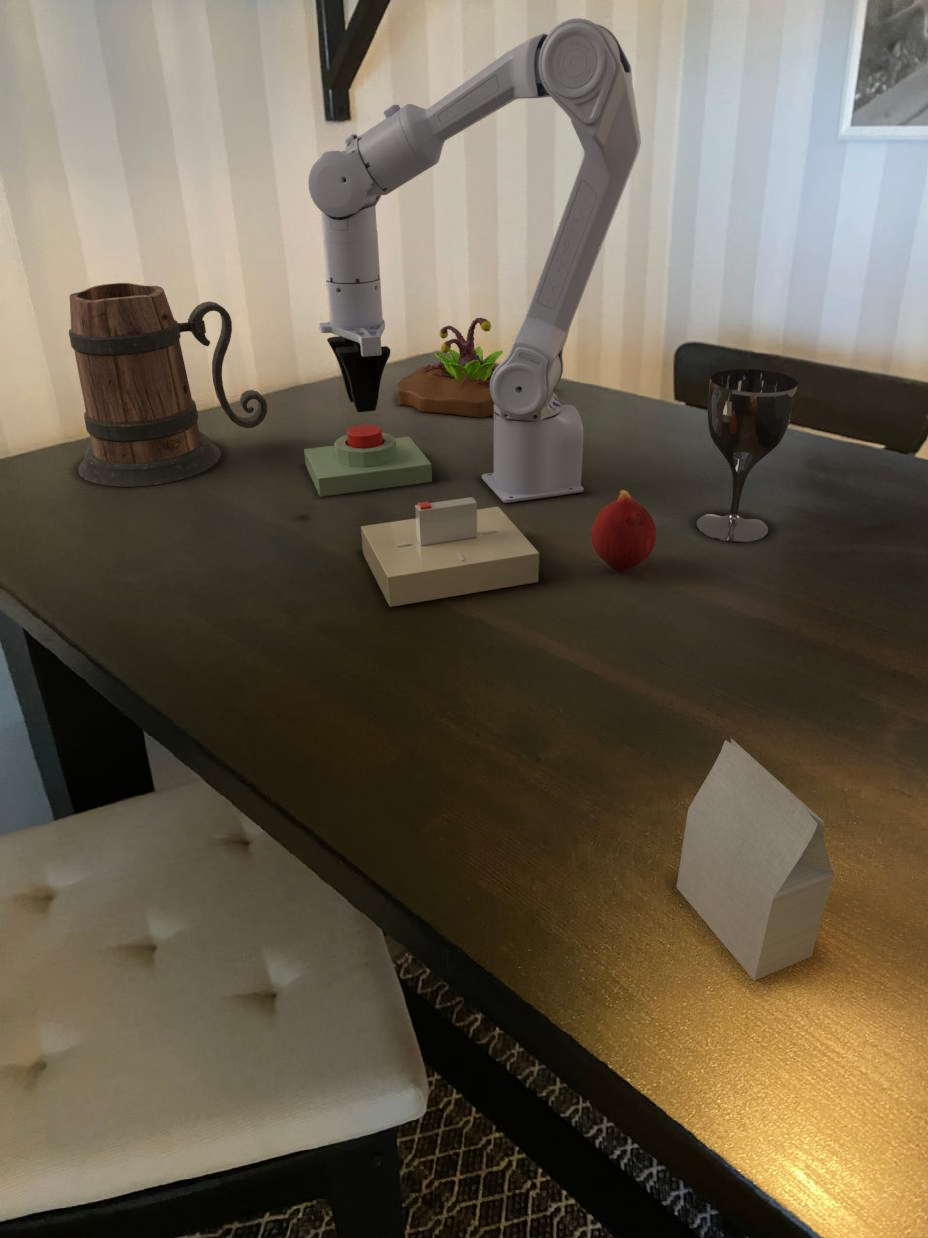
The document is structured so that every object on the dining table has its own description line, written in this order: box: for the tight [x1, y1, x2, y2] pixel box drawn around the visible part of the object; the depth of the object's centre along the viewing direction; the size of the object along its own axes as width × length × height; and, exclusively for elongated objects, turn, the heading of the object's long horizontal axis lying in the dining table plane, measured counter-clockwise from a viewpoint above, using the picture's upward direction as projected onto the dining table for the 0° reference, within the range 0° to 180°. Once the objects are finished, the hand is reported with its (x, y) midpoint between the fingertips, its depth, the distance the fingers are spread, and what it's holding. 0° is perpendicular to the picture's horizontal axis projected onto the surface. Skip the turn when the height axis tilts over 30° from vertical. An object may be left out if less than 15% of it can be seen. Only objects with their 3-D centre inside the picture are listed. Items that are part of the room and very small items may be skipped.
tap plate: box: [360, 506, 540, 608], centre depth 84 cm, size 14×11×3 cm
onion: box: [590, 489, 657, 573], centre depth 82 cm, size 6×6×8 cm
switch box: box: [414, 496, 478, 546], centre depth 83 cm, size 6×1×4 cm, turn 108°
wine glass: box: [695, 368, 799, 543], centre depth 88 cm, size 8×8×15 cm
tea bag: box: [676, 738, 835, 982], centre depth 46 cm, size 4×7×10 cm, turn 23°
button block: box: [303, 432, 433, 498], centre depth 105 cm, size 13×10×4 cm
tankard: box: [68, 282, 268, 488], centre depth 107 cm, size 24×17×20 cm
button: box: [346, 424, 383, 449], centre depth 104 cm, size 4×4×2 cm
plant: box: [396, 317, 504, 419], centre depth 129 cm, size 20×20×11 cm
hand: (362, 405), depth 102 cm, fingers open, 3 cm apart
